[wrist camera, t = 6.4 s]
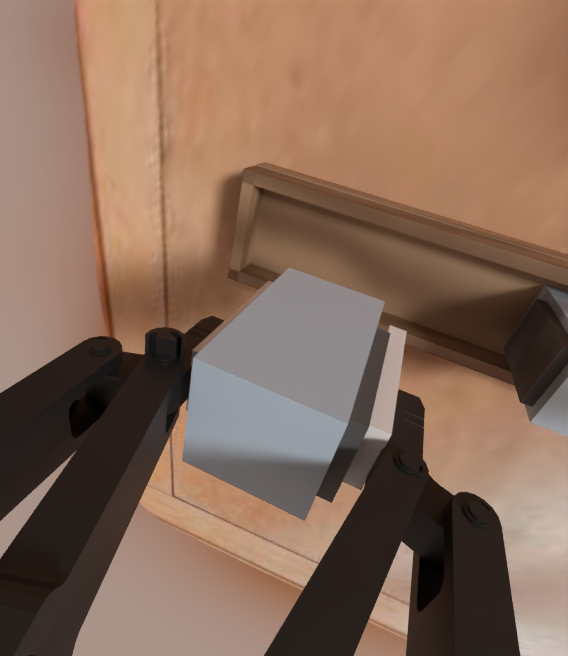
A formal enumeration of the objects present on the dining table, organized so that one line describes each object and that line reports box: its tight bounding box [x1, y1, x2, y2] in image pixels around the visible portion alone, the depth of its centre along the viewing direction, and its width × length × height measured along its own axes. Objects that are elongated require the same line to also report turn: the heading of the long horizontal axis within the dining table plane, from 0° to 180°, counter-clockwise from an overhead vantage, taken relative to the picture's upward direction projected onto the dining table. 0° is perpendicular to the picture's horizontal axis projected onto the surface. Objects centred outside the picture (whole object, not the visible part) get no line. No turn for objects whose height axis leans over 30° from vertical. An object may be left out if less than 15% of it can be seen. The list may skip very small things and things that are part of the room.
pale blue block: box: [182, 268, 390, 521], centre depth 14 cm, size 4×5×8 cm
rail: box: [228, 163, 568, 437], centre depth 22 cm, size 8×26×10 cm, turn 76°
